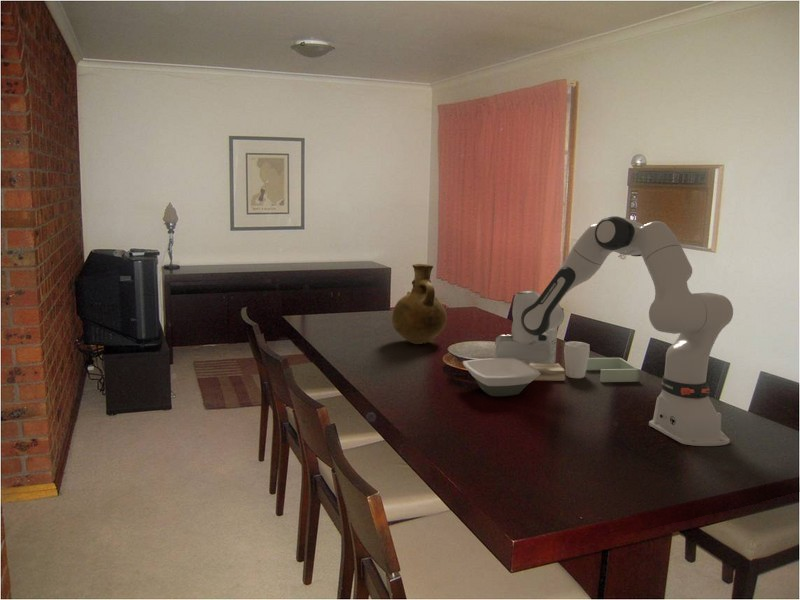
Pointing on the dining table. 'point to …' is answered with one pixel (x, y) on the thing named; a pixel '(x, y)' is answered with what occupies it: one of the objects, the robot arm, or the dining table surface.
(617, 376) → the tray
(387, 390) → the dining table surface
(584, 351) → the cup
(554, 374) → the board
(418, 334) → the vase
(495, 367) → the bowl
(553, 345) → the supplement box
